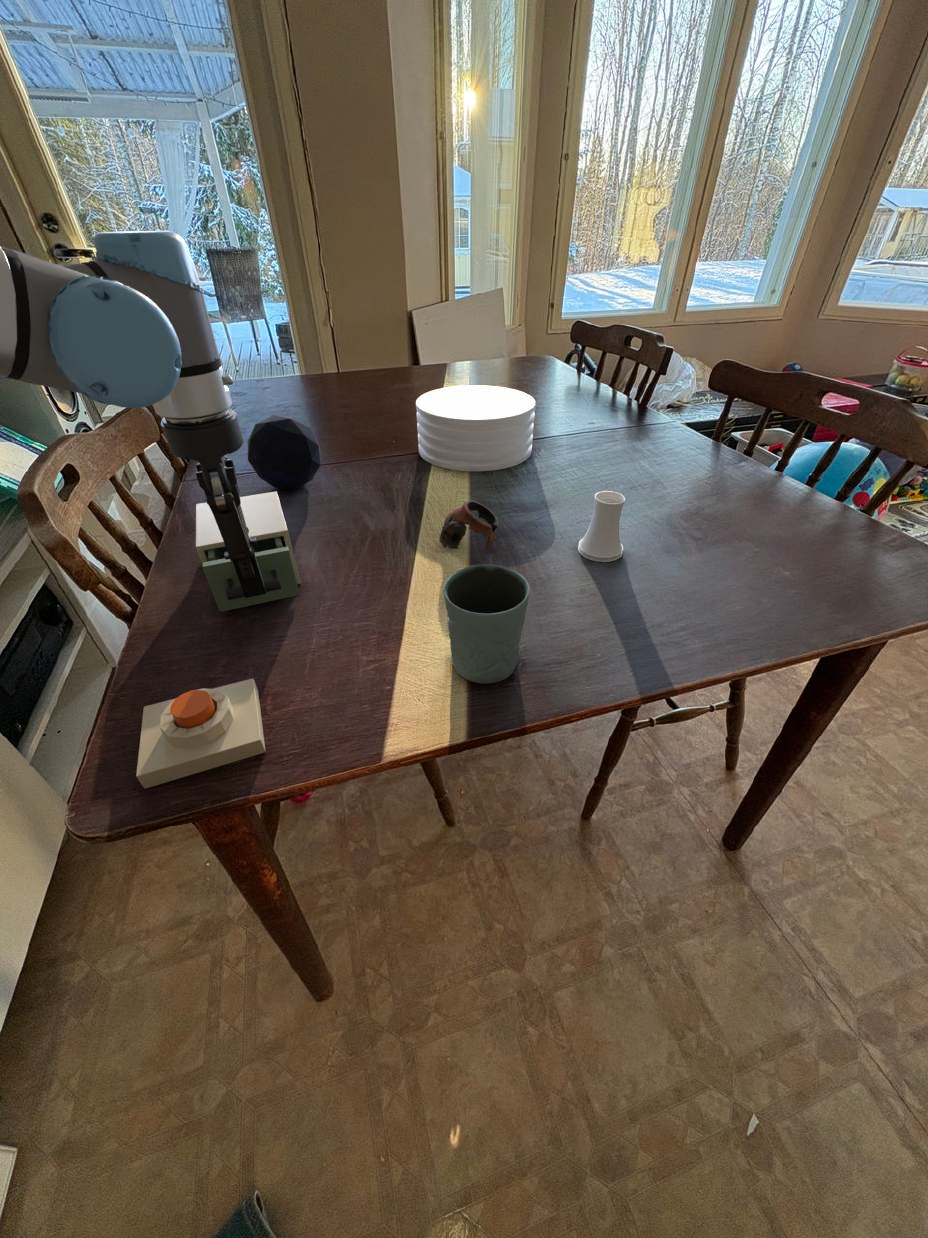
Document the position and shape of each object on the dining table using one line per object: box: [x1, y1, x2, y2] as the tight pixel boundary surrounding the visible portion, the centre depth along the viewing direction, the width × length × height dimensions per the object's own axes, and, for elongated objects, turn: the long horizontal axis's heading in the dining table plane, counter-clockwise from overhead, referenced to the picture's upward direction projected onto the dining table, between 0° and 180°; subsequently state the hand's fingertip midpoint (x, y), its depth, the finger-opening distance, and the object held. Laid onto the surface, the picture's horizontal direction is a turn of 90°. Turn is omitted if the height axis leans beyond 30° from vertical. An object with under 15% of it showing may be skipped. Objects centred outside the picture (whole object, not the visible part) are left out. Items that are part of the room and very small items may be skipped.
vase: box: [577, 490, 626, 563], centre depth 86 cm, size 8×8×10 cm
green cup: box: [442, 563, 531, 685], centre depth 63 cm, size 10×10×12 cm
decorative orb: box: [247, 414, 322, 490], centre depth 107 cm, size 14×15×15 cm
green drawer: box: [201, 536, 301, 613], centre depth 77 cm, size 18×11×8 cm, turn 22°
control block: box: [135, 677, 266, 790], centre depth 57 cm, size 12×10×4 cm
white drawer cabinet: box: [195, 490, 302, 585], centre depth 82 cm, size 15×13×10 cm
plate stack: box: [415, 384, 536, 472], centre depth 123 cm, size 28×28×12 cm
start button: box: [170, 689, 216, 729], centre depth 55 cm, size 4×4×2 cm
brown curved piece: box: [439, 500, 500, 550], centre depth 89 cm, size 12×10×8 cm
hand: (255, 592), depth 69 cm, fingers closed
